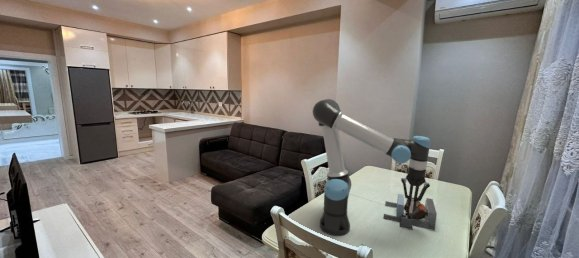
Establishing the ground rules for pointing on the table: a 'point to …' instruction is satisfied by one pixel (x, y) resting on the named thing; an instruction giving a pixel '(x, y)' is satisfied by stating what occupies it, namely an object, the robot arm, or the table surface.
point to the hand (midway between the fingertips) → (410, 211)
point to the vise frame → (409, 222)
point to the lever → (420, 207)
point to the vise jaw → (400, 205)
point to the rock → (417, 215)
